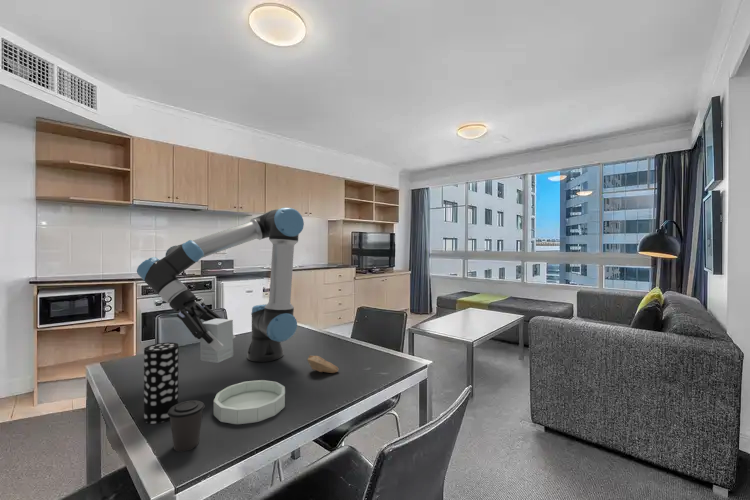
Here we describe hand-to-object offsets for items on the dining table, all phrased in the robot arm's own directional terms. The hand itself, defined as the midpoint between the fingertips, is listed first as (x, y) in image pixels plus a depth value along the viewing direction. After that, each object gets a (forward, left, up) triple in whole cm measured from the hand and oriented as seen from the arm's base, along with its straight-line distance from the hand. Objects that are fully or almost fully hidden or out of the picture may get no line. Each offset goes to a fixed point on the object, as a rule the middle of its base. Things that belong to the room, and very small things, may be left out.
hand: (226, 344), depth 113 cm
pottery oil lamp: (-24, +24, -16) cm, 38 cm away
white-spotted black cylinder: (+19, -7, -16) cm, 26 cm away
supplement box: (+1, -3, -5) cm, 6 cm away
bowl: (+7, +14, -16) cm, 22 cm away
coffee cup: (+28, +11, -16) cm, 34 cm away
